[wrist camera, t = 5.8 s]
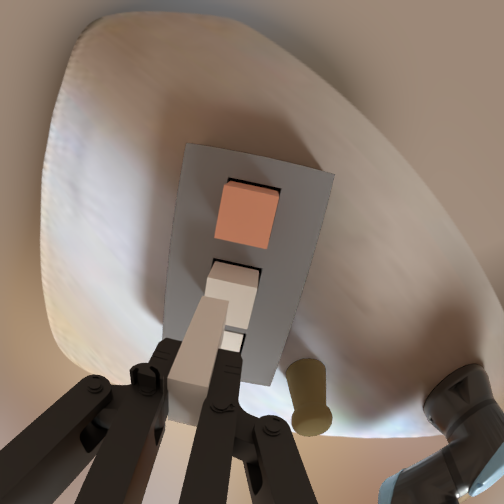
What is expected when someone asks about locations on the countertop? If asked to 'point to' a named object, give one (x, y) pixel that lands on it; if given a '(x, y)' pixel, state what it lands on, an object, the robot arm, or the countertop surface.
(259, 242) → the terracotta button
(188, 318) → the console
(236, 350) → the cream square button
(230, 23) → the countertop surface
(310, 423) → the cork
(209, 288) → the cream white cube
